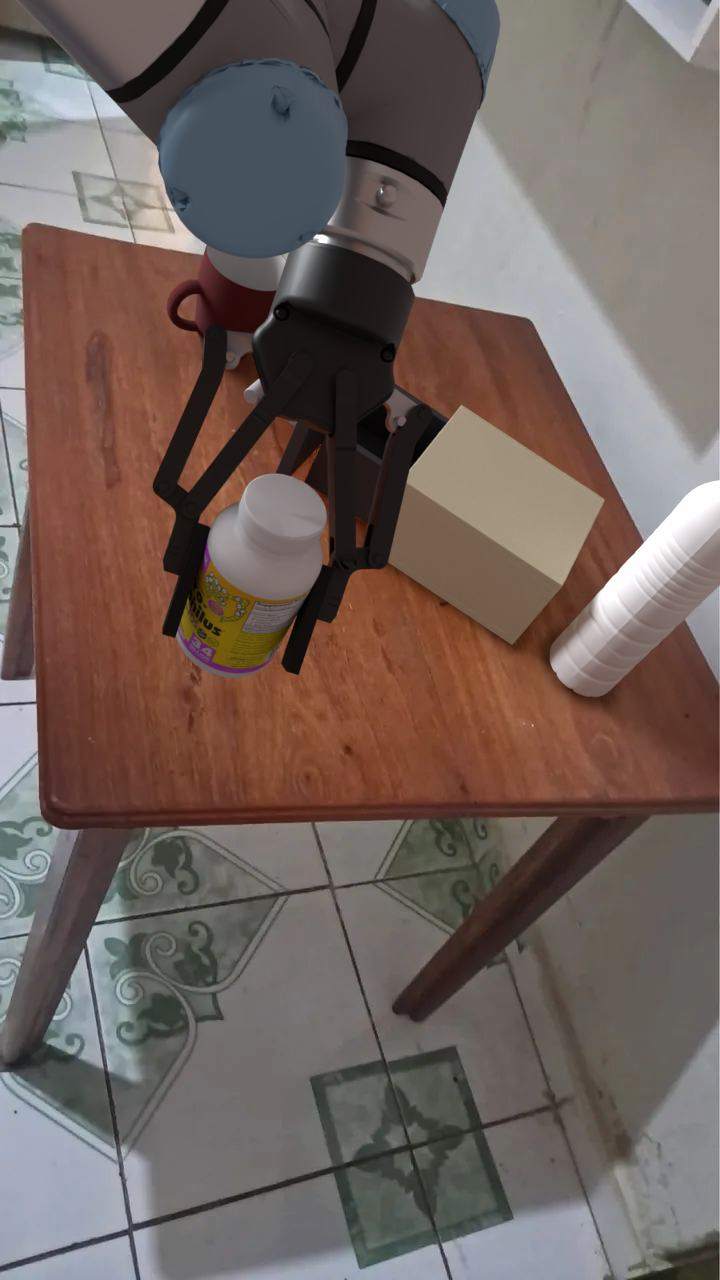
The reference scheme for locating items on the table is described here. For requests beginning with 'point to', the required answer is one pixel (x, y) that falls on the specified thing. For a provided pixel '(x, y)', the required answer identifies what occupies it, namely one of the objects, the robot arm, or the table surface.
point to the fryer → (490, 525)
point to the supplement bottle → (253, 576)
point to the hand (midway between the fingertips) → (230, 650)
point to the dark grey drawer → (366, 456)
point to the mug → (228, 293)
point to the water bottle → (644, 597)
